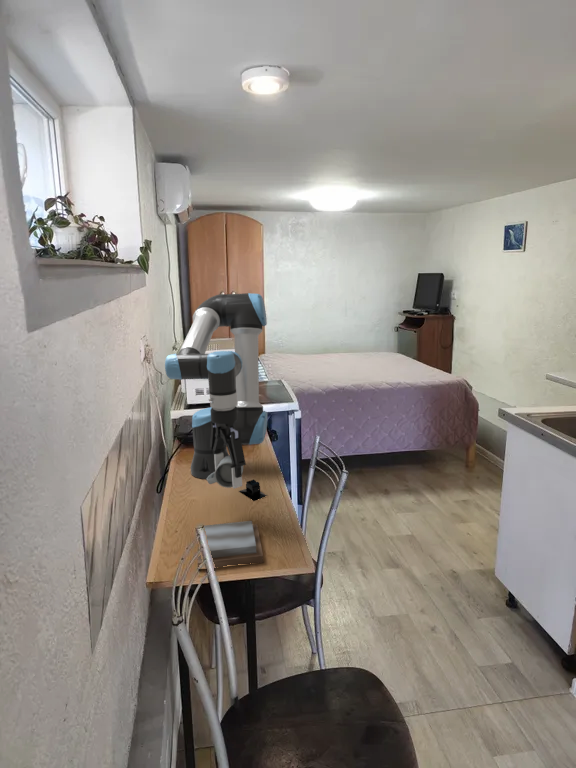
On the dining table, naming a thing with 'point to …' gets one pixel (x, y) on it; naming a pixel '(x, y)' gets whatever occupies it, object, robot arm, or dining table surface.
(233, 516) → the dining table surface
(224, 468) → the ceramic mug
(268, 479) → the dining table surface
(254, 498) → the black angular block
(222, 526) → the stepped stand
